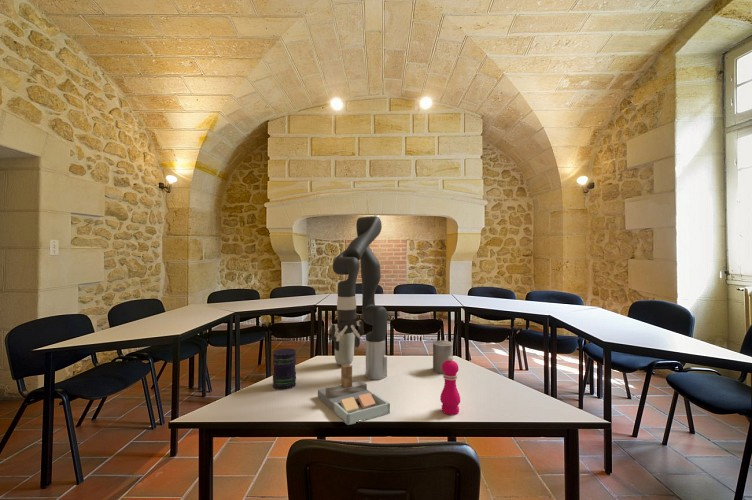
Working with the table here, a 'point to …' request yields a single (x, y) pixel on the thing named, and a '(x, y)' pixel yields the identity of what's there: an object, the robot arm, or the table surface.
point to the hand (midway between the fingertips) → (347, 348)
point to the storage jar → (284, 369)
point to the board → (337, 400)
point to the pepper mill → (450, 388)
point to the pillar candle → (441, 354)
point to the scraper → (346, 384)
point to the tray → (363, 411)
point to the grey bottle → (345, 349)
